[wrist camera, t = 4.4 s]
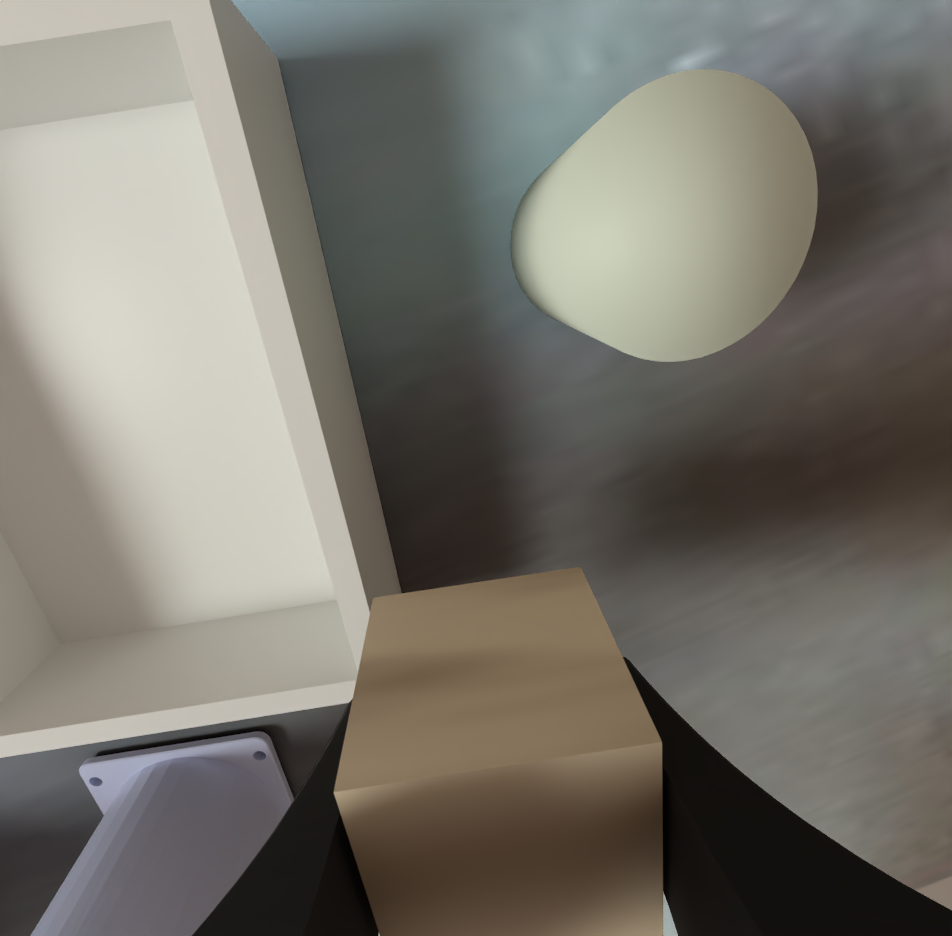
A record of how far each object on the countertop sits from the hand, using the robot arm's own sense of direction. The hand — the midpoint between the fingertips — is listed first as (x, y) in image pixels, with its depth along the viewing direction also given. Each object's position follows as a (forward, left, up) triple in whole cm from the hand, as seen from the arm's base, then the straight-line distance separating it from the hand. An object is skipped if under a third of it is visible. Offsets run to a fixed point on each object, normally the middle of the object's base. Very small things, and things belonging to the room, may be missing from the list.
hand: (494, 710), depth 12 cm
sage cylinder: (+10, -5, -8) cm, 14 cm away
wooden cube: (0, 0, -2) cm, 2 cm away
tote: (+7, +10, -8) cm, 15 cm away
